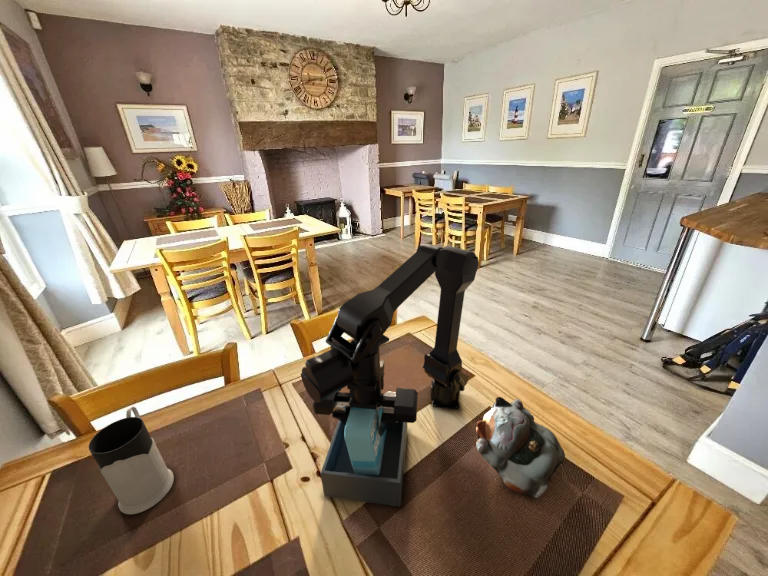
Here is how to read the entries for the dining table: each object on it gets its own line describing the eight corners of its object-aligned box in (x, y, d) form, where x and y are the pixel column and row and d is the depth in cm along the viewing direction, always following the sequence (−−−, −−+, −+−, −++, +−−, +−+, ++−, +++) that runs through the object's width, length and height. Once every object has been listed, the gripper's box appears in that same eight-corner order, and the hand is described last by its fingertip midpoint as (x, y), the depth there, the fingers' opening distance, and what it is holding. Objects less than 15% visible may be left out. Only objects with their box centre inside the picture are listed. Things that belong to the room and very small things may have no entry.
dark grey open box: (407, 431, 70) (407, 409, 67) (400, 506, 56) (400, 483, 53) (346, 425, 72) (343, 404, 69) (324, 496, 57) (320, 473, 55)
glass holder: (113, 524, 54) (75, 466, 48) (129, 458, 66) (100, 405, 59) (171, 499, 58) (143, 443, 51) (177, 441, 69) (155, 389, 63)
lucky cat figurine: (528, 514, 54) (496, 452, 51) (481, 476, 65) (453, 424, 62) (578, 455, 59) (551, 396, 56) (527, 430, 70) (502, 379, 68)
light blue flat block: (379, 480, 57) (368, 433, 52) (355, 479, 57) (342, 433, 53) (387, 426, 67) (379, 383, 62) (367, 425, 68) (357, 383, 63)
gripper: (419, 345, 60) (418, 405, 66) (326, 340, 62) (334, 398, 69) (416, 386, 50) (415, 452, 56) (306, 377, 52) (317, 441, 59)
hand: (368, 433), depth 61 cm, fingers closed on light blue flat block, 5 cm apart
